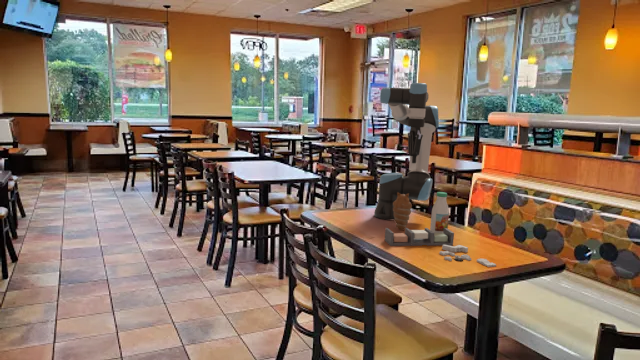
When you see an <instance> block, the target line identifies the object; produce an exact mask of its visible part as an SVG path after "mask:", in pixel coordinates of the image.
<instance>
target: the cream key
mask: <svg viewBox="0 0 640 360" xmlns="http://www.w3.org/2000/svg"><path fill="white" fill-rule="evenodd" d="M410 230H411V231H412V232H413V233H414V239H428V233H427V232H426V231H425V229H410Z"/></svg>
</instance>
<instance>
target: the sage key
mask: <svg viewBox="0 0 640 360" xmlns="http://www.w3.org/2000/svg"><path fill="white" fill-rule="evenodd" d="M447 240H448V236H447V235H445V234H444V233H434V242H447Z"/></svg>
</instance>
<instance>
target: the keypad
mask: <svg viewBox="0 0 640 360" xmlns="http://www.w3.org/2000/svg"><path fill="white" fill-rule="evenodd" d="M384 229H385V231H384V241H385V243H387V244H388V245H389V247H396V246H398V247H402V246H406V247H408V246H410V247H411V246H413V247H415V246H420V247H421V246H422V245H427V247H428V246H443V245H449V246H454V239H455V232H454V231H452V230H450V228H448V229H447V228H444V230H443V233H444V234H445V235H447V236H448V240H447V242H434V232H432V231H431V230H430V228H428V227H424V230H425V231H426V232H427V233H428V239H414V233H413V232H412V231H411V230H412V229H410V228H408V227H406V228H405V229H404V234H406V235H407V236H408V241H407V242H393V238H394V233H395V232H393V231H392V230H391V229H390V228H388V227H385V228H384Z"/></svg>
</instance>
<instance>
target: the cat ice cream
mask: <svg viewBox="0 0 640 360" xmlns="http://www.w3.org/2000/svg"><path fill="white" fill-rule="evenodd" d="M397 195H398V197H397V199H396V200H395V201H394V202H393V206H394V207H393V211H394V217H395V220H394V222H395V228H396V229H397V230H399V231H405V228H407V225H408V224H409V223H408V222H409V220H410V215H411V214H412V211H411V209H412V208H413V205H412V202H410V199H409V198H408V196H409V193H408V194H406V195H405V194H400V193H397Z"/></svg>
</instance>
